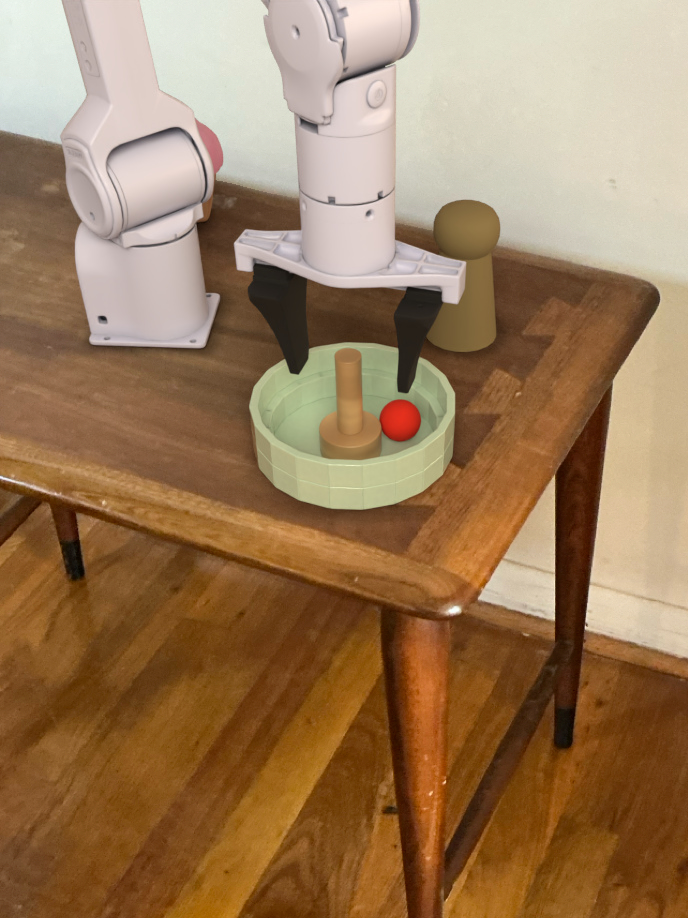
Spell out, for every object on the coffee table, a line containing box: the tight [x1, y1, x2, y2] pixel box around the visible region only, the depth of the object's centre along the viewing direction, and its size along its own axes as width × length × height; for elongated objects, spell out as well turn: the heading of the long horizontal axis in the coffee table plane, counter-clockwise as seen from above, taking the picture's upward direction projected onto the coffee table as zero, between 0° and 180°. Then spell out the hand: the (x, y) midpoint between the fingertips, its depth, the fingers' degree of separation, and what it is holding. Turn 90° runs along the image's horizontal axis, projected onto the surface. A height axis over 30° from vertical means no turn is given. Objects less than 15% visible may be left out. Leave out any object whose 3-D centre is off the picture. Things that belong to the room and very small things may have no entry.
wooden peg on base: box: [319, 348, 382, 460], centre depth 71 cm, size 4×4×8 cm
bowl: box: [248, 341, 456, 511], centre depth 73 cm, size 14×14×4 cm
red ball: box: [379, 399, 421, 441], centre depth 74 cm, size 3×3×3 cm
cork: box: [426, 199, 501, 353], centre depth 82 cm, size 6×6×11 cm
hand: (352, 375), depth 70 cm, fingers open, 7 cm apart
